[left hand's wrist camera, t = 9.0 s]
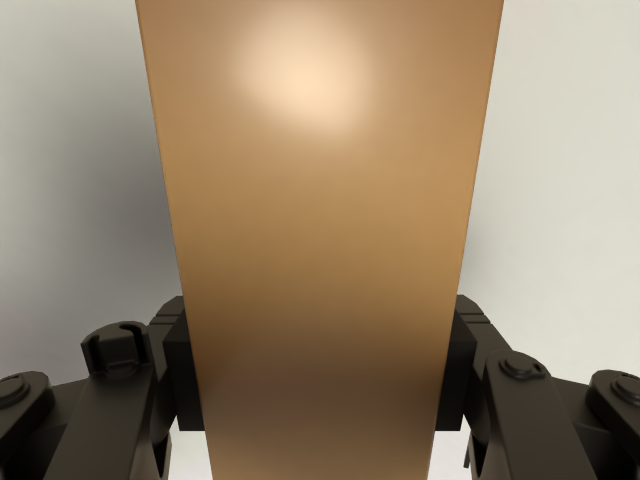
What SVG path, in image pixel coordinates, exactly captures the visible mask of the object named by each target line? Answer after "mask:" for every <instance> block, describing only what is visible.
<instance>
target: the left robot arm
mask: <svg viewBox="0 0 640 480" xmlns="http://www.w3.org/2000/svg"><path fill="white" fill-rule="evenodd" d="M81 348H82V351H83V354H84V357H85V361H86V364H87V367H88V371H89V374H90V375H89V377H88V378H87V379H84V380H80V381H75V382H71V383H66V384H61V385H57V386H52V387H51V384H50V382H49V379H48V377H47V376H46V375H45V374H44V373H42V372H35V371H30V372H23V373H18V374H14V375H12V376H8V377H5V378H3V379H1V380H0V480H168V474H169V466H170V457H171V448H172V443H171V436H170V432H169V430H170V428H171V425H172V423H173V421H174V419H175V417H176V415H177V420H178V425H179V430H180V431H205V427H204V421H203V415H202V409H201V403H200V397H199V391H198V384H197V378H196V372H195V366H194V360H193V354H192V347H191V341H190V335H189V329H188V323H187V317H186V311H185V304H184V298H183V296H176V297H174V298H173V299H171V300H170V301H168V302H167V303H165V304H164V305H163V306H162V307H161V309H160V310H159V311H158V313H157V314H156V317H154V318H153V319H152V320H151V322H150V324H149V325H147V327H146V326H145V325H144V324H143V323H140V322H135V321H123V322H118V323H114V324H109V325H107V326H104V327H102V328H100V329H97V330H96V331H94V332H93V333H91V334H90V335H88V336H87V337H86V338H85V339H84V340H83V341H82V343H81ZM463 414H464V416H465V418H466V420H467V422H468V424H469V426H470V428H471V432H470V436H469V441H468V446H467V450H466V455H465V460H464V467H465V468H469V463H470V465H471V473H472V480H640V378H639V377H637V376H634V375H632V374H628V373H625V372H621V371H615V370H600V371H597V372H596V373H594V374H593V375H592V378H591V380H590V383H589V385H586V384H581V383H577V382H572V381H567V380H563V379H558V378H555V377H552V376H551V374H550V373H549V371H548V370H547V369H546V367H545V366H544V365H542V364H541V363H540V362H539V361H537V360H536V359H534V358H532V357H530V356H528V355H526V354H524V353H521V352H517V351H513V350H512V349H511V347H510V346H509V345H508V343H507V342H506V341H505V340H504V338H503V337H502V336H501V335H500V333H499V332H498V331H497V329H496V328H495V327H494V326H493V324H491V323H490V320H489V319H488V318H487V317H486V315H484V313H483V311H482V310H481V309H480V308H479V306H478V305H477V304H476V303H475V302H473V301H472V300H470V299H469V298H467V297H466V296H464V295H457V296H456V303H455V309H454V315H453V321H452V328H451V334H450V340H449V346H448V353H447V359H446V365H445V371H444V377H443V384H442V390H441V396H440V402H439V409H438V415H437V421H436V427H435V431H460V429H461V424H462V419H463Z"/></svg>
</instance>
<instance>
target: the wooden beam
mask: <svg viewBox="0 0 640 480" xmlns="http://www.w3.org/2000/svg"><path fill="white" fill-rule="evenodd" d="M135 3H136V9H137V15H138V22H139V28H140V34H141V40H142V46H143V52H144V58H145V65H146V71H147V77H148V83H149V89H150V95H151V102H152V108H153V114H154V120H155V126H156V132H157V138H158V145H159V151H160V157H161V163H162V169H163V175H164V181H165V188H166V194H167V200H168V206H169V212H170V218H171V224H172V231H173V237H174V243H175V249H176V255H177V261H178V268H179V274H180V280H181V286H182V292H183V298H184V304H185V311H186V317H187V323H188V329H189V335H190V341H191V347H192V354H193V360H194V366H195V372H196V378H197V384H198V391H199V397H200V403H201V409H202V415H203V421H204V427H205V434H206V440H207V446H208V452H209V458H210V464H211V470H212V477H213V480H427V477H428V471H429V465H430V459H431V452H432V446H433V440H434V434H435V427H436V421H437V415H438V409H439V402H440V396H441V390H442V384H443V377H444V371H445V365H446V359H447V353H448V346H449V340H450V334H451V328H452V321H453V315H454V309H455V303H456V296H457V290H458V284H459V278H460V271H461V265H462V259H463V253H464V247H465V240H466V234H467V228H468V222H469V215H470V209H471V203H472V197H473V190H474V184H475V178H476V172H477V165H478V159H479V153H480V147H481V141H482V134H483V128H484V122H485V116H486V109H487V103H488V97H489V91H490V84H491V78H492V72H493V66H494V59H495V53H496V47H497V41H498V35H499V28H500V22H501V16H502V10H503V3H504V0H135Z"/></svg>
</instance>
